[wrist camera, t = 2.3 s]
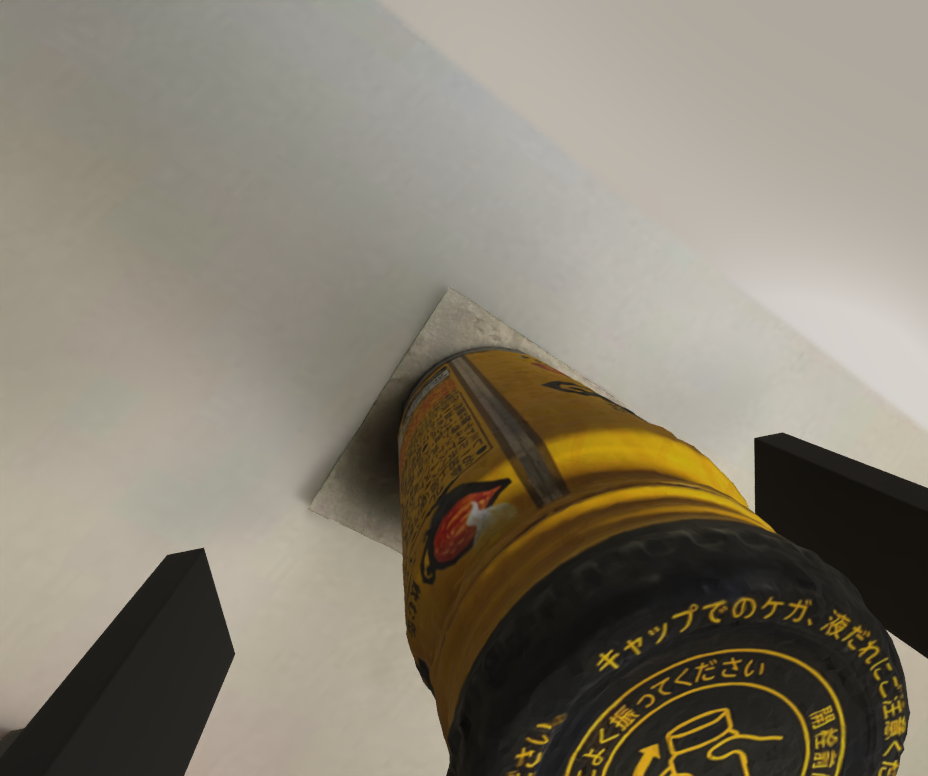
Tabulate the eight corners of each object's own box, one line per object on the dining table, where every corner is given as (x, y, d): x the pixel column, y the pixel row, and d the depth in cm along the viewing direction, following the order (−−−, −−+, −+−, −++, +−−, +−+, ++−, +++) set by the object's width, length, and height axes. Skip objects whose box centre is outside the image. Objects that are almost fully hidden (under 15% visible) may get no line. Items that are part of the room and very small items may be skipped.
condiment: (623, 404, 17) (1109, 671, 6) (488, 596, 18) (661, 1172, 6) (448, 286, 15) (619, 311, 4) (309, 504, 16) (102, 1061, 5)
